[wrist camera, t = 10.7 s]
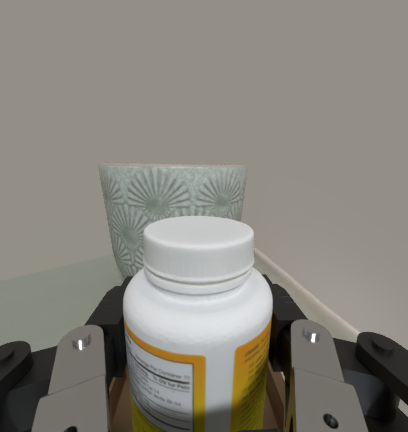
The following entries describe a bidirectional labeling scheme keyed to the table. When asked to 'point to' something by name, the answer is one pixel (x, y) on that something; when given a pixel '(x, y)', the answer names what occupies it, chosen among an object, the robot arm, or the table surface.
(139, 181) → the planter
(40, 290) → the table surface
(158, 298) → the supplement bottle
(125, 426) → the tray
